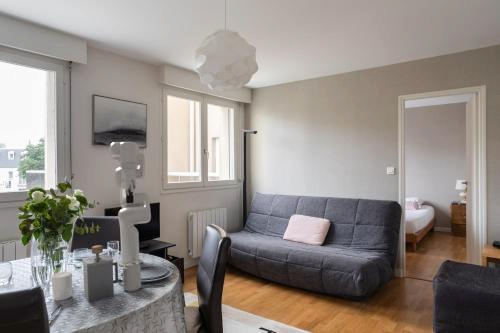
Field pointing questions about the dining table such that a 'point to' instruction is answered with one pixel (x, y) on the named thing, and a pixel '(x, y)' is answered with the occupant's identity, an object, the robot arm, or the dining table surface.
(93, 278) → the press carafe
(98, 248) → the plunger
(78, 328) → the dining table surface
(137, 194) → the robot arm
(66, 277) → the white cup
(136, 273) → the can
